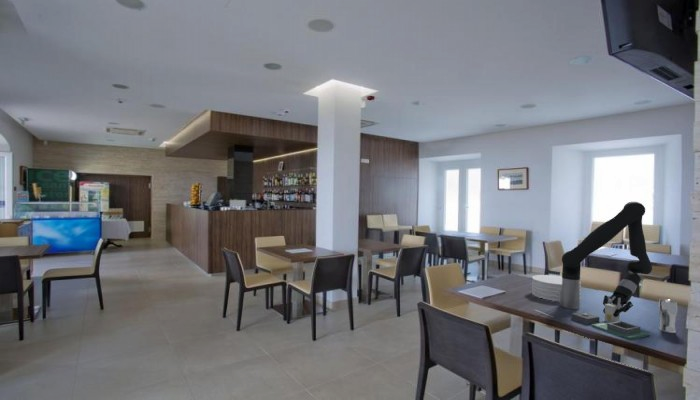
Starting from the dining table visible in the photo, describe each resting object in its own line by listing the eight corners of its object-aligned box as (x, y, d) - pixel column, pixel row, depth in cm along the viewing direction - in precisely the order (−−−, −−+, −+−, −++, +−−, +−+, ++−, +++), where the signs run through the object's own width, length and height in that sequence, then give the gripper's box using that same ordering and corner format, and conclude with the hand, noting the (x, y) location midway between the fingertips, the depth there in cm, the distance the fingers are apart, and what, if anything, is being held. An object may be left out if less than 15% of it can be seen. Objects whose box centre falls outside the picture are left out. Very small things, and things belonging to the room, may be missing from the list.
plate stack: (590, 303, 224) (590, 285, 224) (545, 302, 225) (545, 284, 225) (564, 291, 252) (564, 275, 252) (524, 290, 253) (524, 274, 253)
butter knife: (536, 309, 210) (532, 309, 209) (578, 325, 185) (574, 325, 184) (536, 310, 210) (532, 310, 209) (578, 326, 185) (574, 326, 184)
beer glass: (667, 328, 181) (668, 298, 181) (680, 333, 174) (681, 302, 174) (654, 328, 181) (654, 298, 181) (667, 333, 174) (667, 302, 174)
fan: (571, 319, 194) (571, 312, 194) (582, 317, 197) (583, 310, 197) (587, 324, 186) (587, 317, 186) (599, 322, 189) (599, 315, 189)
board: (591, 326, 183) (591, 319, 183) (610, 323, 188) (610, 316, 188) (629, 339, 166) (629, 332, 166) (649, 335, 171) (649, 328, 171)
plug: (603, 321, 191) (604, 304, 191) (610, 320, 193) (610, 303, 193) (612, 324, 187) (612, 306, 187) (619, 322, 189) (619, 305, 189)
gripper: (608, 282, 199) (592, 306, 195) (636, 288, 186) (620, 314, 182) (614, 291, 201) (599, 314, 197) (643, 297, 188) (627, 323, 184)
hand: (609, 314), depth 189 cm, fingers closed on plug, 4 cm apart
